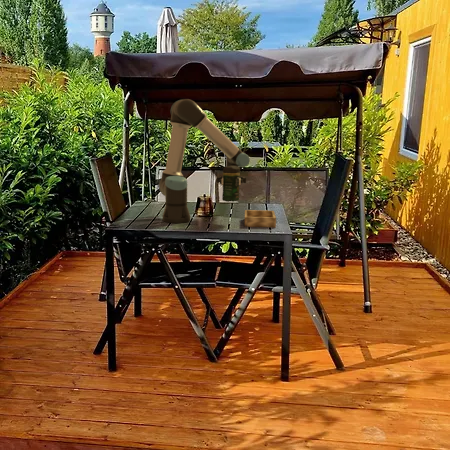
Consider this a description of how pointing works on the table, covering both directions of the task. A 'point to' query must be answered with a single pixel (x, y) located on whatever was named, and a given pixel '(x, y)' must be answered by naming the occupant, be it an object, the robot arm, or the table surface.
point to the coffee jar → (231, 183)
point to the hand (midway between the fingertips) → (231, 182)
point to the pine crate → (260, 218)
